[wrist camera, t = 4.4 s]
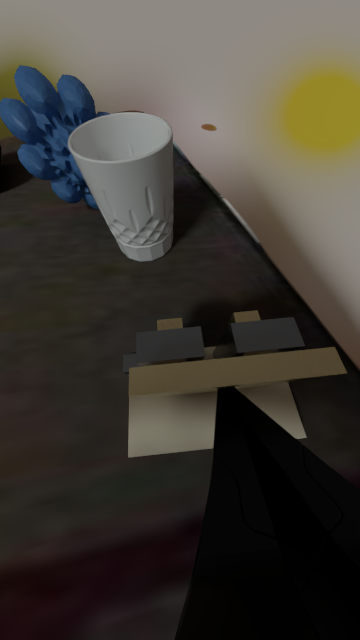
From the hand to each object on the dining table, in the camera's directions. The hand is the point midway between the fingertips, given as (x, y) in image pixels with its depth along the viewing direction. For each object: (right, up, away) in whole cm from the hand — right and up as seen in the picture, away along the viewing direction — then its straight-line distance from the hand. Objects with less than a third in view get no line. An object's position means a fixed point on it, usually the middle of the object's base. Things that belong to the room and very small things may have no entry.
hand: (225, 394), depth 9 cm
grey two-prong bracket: (0, 0, +7) cm, 7 cm away
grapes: (-13, +19, +17) cm, 29 cm away
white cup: (-6, +14, +14) cm, 20 cm away
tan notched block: (0, 0, +6) cm, 6 cm away
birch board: (0, -3, +6) cm, 7 cm away
